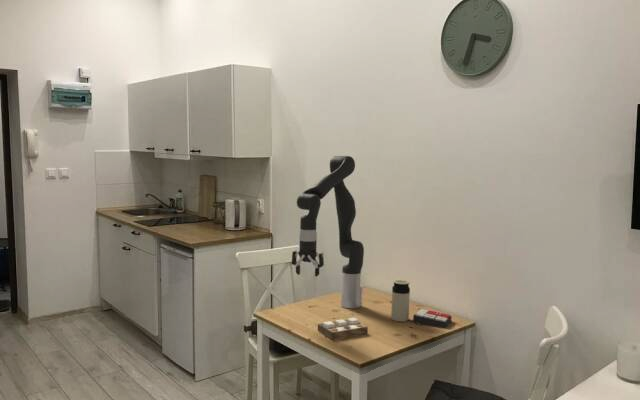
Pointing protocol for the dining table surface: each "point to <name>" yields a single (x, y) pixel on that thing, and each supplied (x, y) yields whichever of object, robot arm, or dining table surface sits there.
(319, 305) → the dining table surface
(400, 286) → the travel mug
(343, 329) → the button board
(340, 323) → the key middle
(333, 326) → the key
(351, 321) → the key
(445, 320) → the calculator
